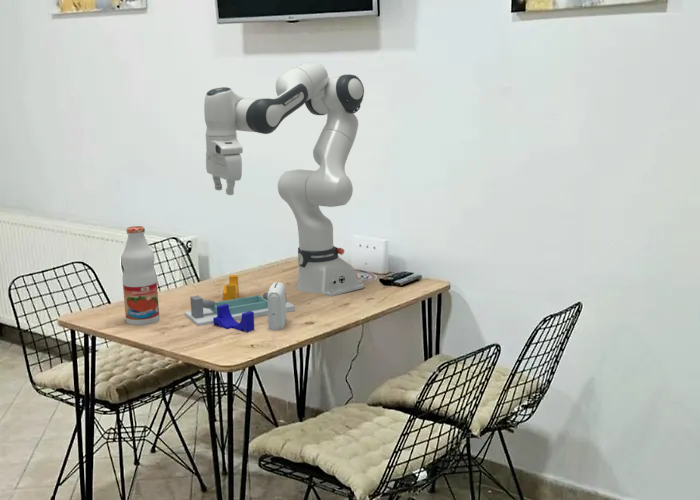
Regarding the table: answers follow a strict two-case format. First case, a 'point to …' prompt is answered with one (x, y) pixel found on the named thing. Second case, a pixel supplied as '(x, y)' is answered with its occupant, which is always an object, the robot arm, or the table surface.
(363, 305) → the table surface
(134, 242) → the fruit juice
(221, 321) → the blue curved cradle
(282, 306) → the photo printer
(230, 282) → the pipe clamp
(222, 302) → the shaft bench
